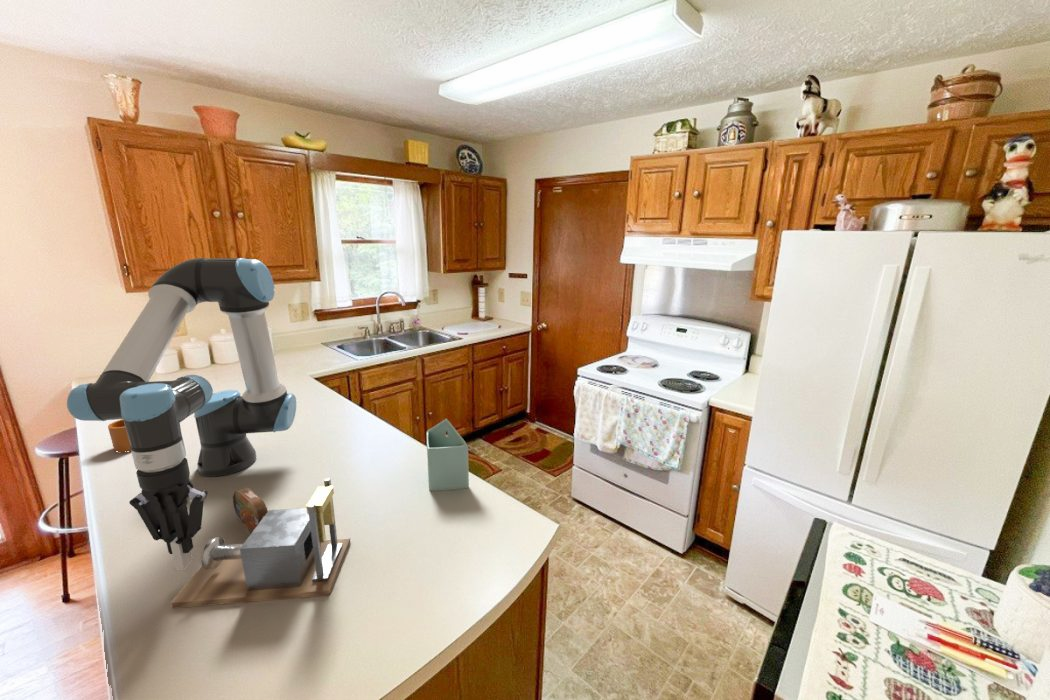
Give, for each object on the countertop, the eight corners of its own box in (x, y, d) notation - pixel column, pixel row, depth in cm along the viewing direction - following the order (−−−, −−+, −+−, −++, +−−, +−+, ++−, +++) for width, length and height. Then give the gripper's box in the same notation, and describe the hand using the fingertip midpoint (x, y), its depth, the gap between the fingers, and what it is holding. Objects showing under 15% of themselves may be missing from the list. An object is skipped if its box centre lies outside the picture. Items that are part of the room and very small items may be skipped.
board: (172, 608, 80) (171, 602, 79) (217, 552, 94) (217, 547, 94) (329, 595, 83) (328, 590, 83) (350, 543, 98) (349, 538, 97)
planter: (410, 481, 123) (406, 420, 118) (429, 470, 130) (427, 411, 125) (450, 500, 115) (448, 435, 110) (469, 487, 121) (468, 425, 116)
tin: (234, 515, 107) (229, 486, 105) (247, 509, 109) (243, 481, 107) (259, 540, 98) (254, 509, 96) (273, 533, 101) (268, 503, 98)
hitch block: (247, 590, 82) (233, 514, 78) (274, 548, 94) (264, 479, 89) (326, 584, 84) (316, 509, 80) (343, 543, 96) (336, 475, 91)
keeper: (311, 543, 84) (306, 506, 82) (322, 521, 91) (318, 486, 89) (326, 542, 85) (322, 505, 83) (336, 520, 91) (333, 485, 89)
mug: (164, 442, 143) (159, 418, 141) (117, 456, 134) (110, 431, 132) (157, 434, 149) (152, 411, 146) (111, 447, 139) (105, 423, 137)
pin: (204, 576, 84) (199, 551, 82) (221, 554, 89) (216, 531, 88) (288, 570, 86) (285, 545, 84) (300, 549, 92) (297, 526, 90)
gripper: (107, 475, 75) (135, 581, 81) (185, 472, 77) (207, 576, 83) (139, 455, 83) (163, 554, 89) (210, 452, 84) (228, 549, 90)
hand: (184, 564), depth 86 cm, fingers closed
